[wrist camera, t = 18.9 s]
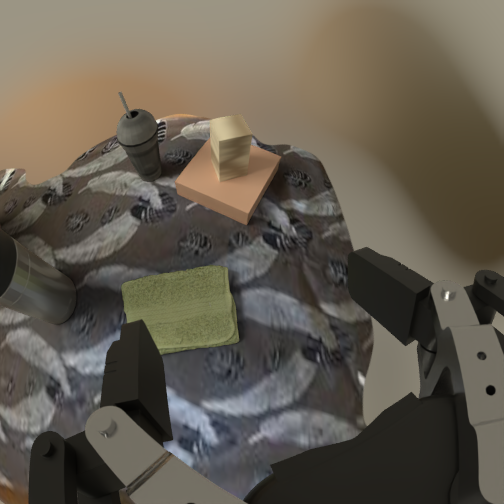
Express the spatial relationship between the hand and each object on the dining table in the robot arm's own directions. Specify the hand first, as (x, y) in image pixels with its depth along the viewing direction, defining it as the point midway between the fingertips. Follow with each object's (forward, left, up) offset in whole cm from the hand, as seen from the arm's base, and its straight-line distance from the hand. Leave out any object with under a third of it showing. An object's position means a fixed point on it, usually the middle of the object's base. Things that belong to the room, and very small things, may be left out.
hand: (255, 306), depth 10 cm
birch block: (-14, +26, -29) cm, 41 cm away
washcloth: (-10, +1, -33) cm, 35 cm away
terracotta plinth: (-14, +26, -33) cm, 44 cm away
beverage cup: (-29, +21, -33) cm, 49 cm away
